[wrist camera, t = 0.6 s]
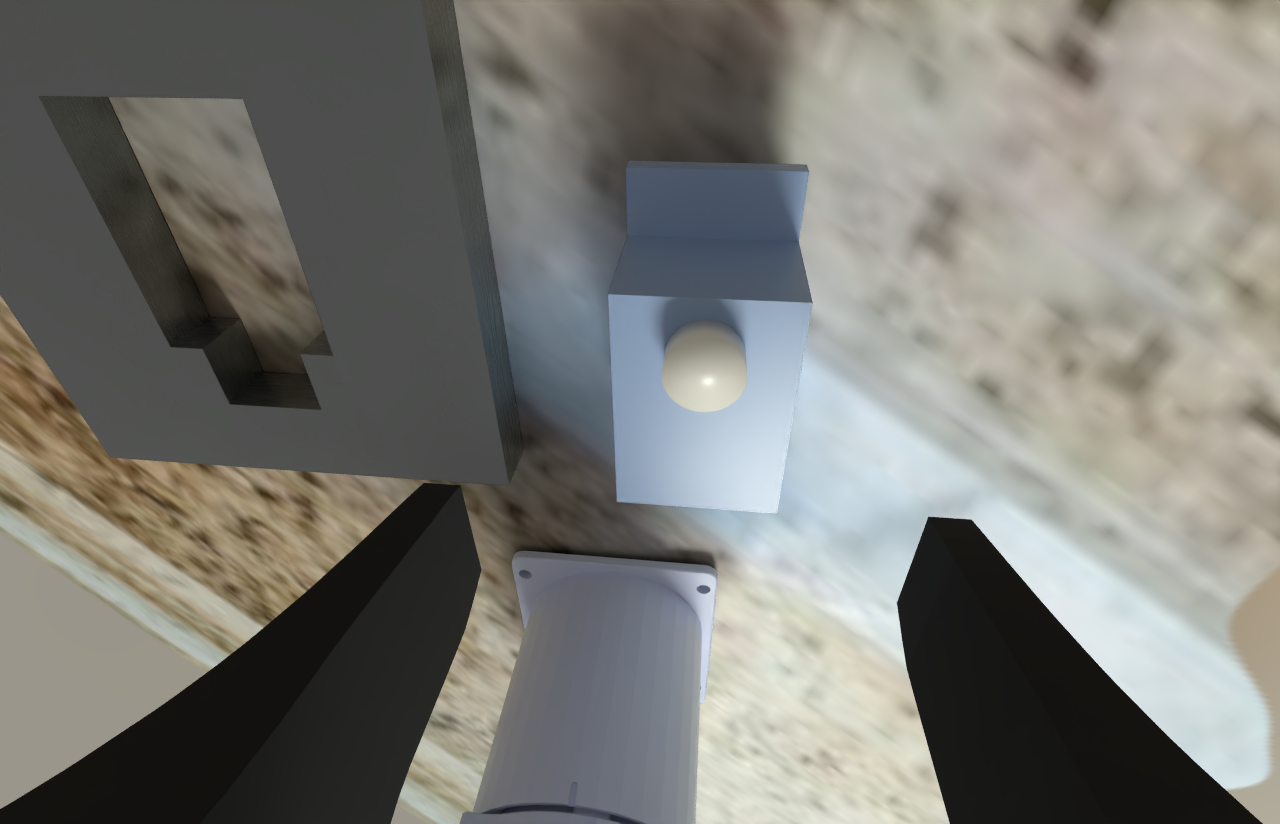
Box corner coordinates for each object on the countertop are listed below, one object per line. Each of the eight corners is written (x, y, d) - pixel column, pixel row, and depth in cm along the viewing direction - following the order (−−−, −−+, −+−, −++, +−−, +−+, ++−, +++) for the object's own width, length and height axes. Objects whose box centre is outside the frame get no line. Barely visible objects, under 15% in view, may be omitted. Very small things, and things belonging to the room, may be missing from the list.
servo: (759, 430, 20) (769, 589, 16) (641, 423, 21) (614, 576, 16) (798, 139, 15) (832, 241, 10) (639, 136, 15) (597, 233, 11)
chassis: (523, 449, 22) (508, 485, 21) (147, 424, 23) (110, 457, 22) (424, -182, 12) (385, -195, 11) (-208, -164, 14) (-316, -174, 12)
